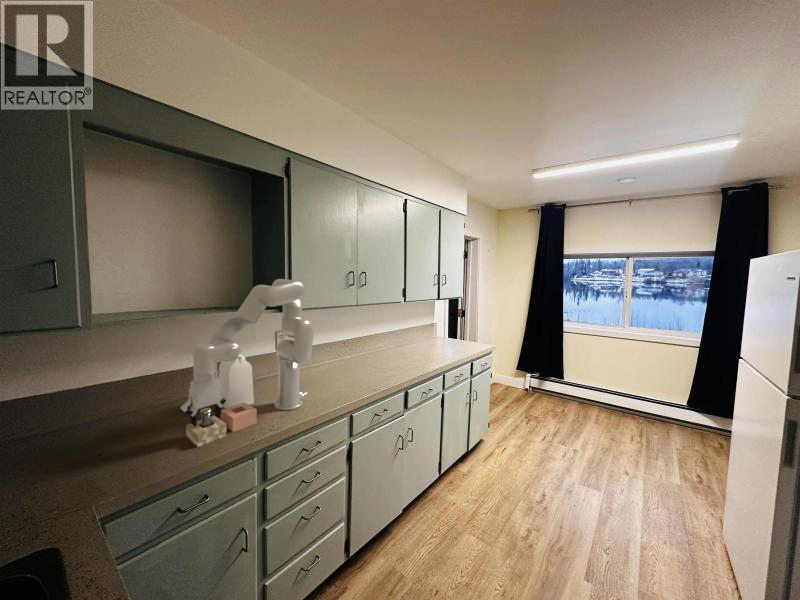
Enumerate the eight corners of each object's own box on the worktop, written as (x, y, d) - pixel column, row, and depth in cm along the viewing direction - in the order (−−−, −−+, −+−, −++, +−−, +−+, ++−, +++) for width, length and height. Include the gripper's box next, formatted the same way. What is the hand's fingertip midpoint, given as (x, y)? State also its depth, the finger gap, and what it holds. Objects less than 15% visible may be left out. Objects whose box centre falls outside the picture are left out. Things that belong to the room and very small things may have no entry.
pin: (209, 433, 127) (208, 406, 126) (213, 436, 125) (213, 409, 124) (199, 436, 124) (198, 410, 123) (203, 440, 122) (203, 412, 121)
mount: (214, 427, 132) (214, 415, 131) (226, 436, 126) (226, 423, 125) (186, 437, 124) (186, 424, 123) (198, 447, 118) (197, 434, 117)
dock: (244, 415, 143) (244, 402, 142) (256, 422, 137) (256, 409, 136) (220, 423, 135) (220, 410, 134) (232, 432, 129) (232, 417, 128)
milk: (217, 402, 154) (216, 349, 151) (242, 395, 163) (242, 345, 160) (228, 410, 147) (228, 354, 144) (253, 403, 155) (253, 350, 152)
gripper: (224, 368, 131) (224, 410, 133) (174, 379, 117) (176, 426, 119) (233, 373, 127) (234, 416, 129) (183, 385, 113) (184, 433, 115)
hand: (206, 420), depth 124 cm, fingers open, 7 cm apart
